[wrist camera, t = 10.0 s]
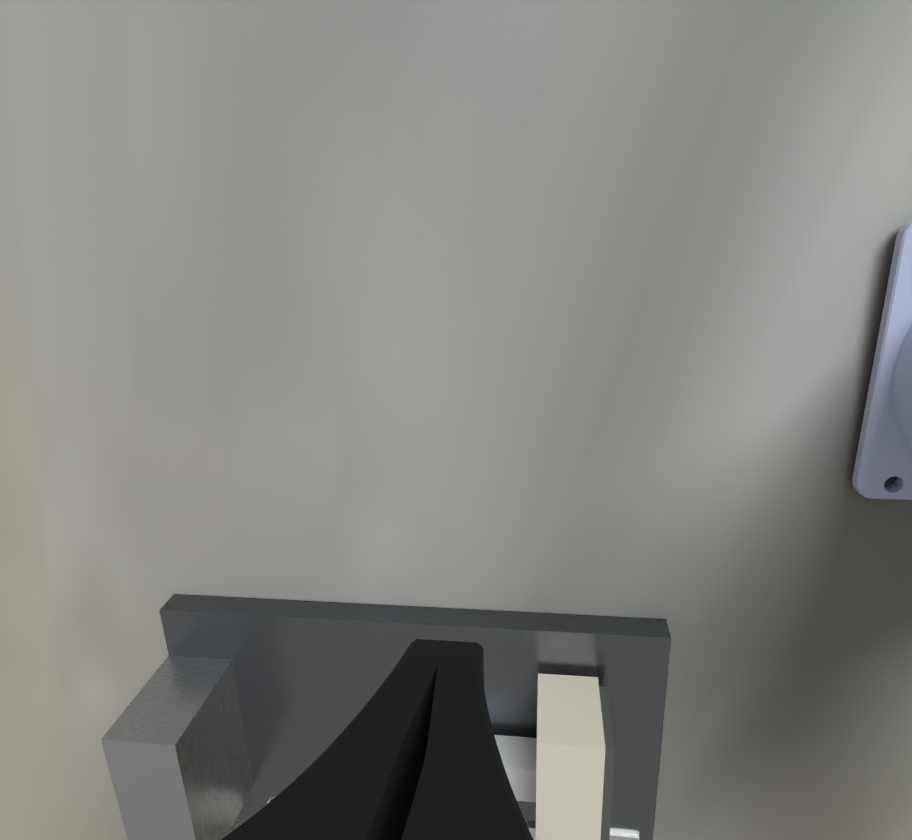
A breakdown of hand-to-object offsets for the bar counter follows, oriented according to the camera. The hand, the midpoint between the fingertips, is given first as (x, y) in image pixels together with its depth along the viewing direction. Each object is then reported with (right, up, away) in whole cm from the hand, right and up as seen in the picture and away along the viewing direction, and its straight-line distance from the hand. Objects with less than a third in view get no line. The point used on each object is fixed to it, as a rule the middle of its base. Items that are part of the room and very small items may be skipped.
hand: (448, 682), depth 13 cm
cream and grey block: (+2, -7, +11) cm, 13 cm away
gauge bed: (-1, -6, +13) cm, 14 cm away
